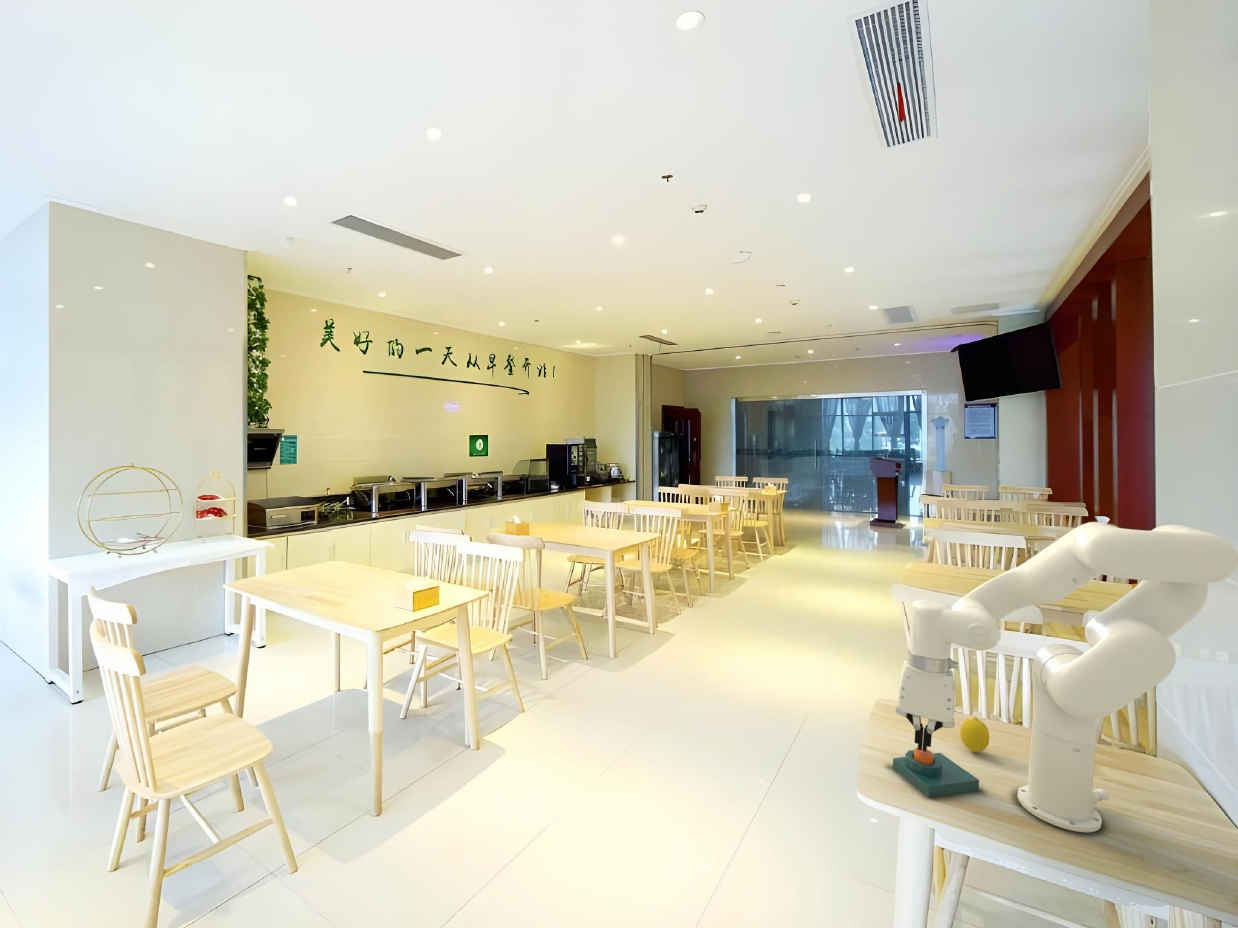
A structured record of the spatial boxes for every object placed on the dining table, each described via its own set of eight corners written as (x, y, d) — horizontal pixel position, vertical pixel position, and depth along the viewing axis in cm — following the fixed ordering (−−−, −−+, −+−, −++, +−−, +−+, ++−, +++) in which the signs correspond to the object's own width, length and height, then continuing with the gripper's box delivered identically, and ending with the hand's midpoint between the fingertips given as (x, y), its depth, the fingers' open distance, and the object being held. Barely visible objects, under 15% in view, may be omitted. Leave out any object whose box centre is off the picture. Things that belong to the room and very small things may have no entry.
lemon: (960, 742, 130) (962, 709, 130) (988, 751, 127) (990, 716, 126) (958, 753, 125) (960, 718, 125) (987, 762, 122) (989, 726, 122)
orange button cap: (924, 754, 118) (924, 746, 118) (937, 764, 114) (937, 756, 114) (909, 756, 117) (910, 748, 117) (922, 766, 114) (923, 757, 114)
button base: (939, 762, 122) (940, 744, 121) (978, 790, 112) (980, 771, 112) (892, 767, 119) (893, 749, 119) (928, 797, 109) (929, 777, 109)
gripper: (970, 664, 114) (964, 751, 115) (890, 647, 122) (885, 729, 123) (971, 677, 108) (964, 769, 109) (886, 658, 116) (880, 744, 117)
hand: (922, 747), depth 116 cm, fingers closed
